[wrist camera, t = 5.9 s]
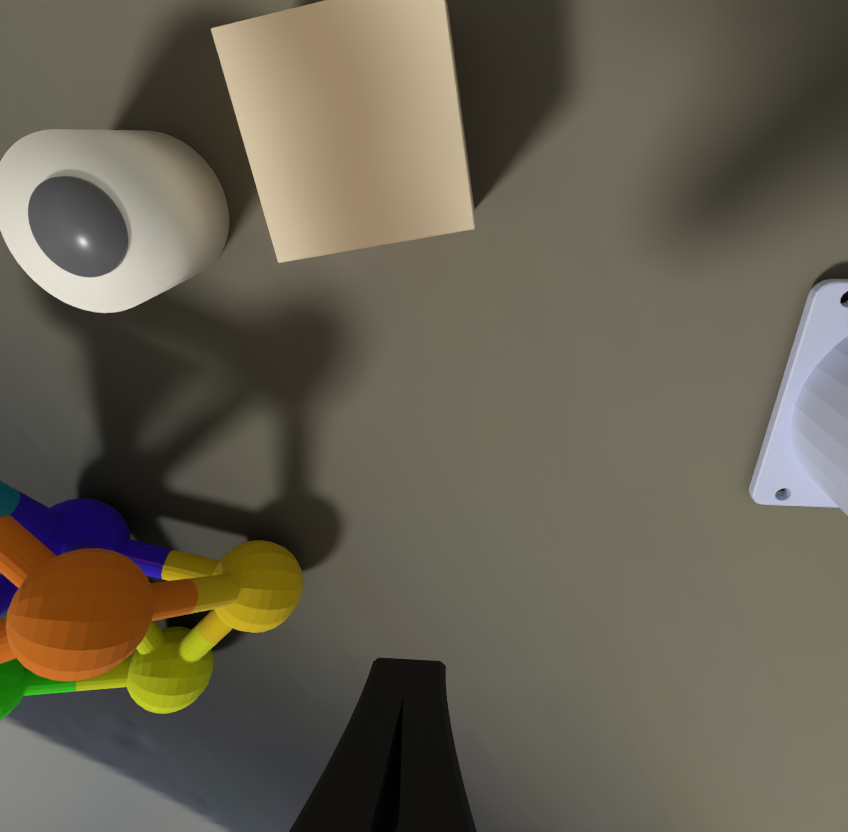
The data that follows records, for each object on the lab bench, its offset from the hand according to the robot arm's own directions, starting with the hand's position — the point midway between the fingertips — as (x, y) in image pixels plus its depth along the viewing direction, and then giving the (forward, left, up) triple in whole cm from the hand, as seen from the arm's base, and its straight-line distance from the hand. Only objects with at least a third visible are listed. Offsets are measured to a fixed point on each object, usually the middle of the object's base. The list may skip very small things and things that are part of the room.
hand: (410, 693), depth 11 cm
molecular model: (+13, +6, -11) cm, 18 cm away
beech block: (+2, -10, -11) cm, 15 cm away
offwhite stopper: (+9, -8, -11) cm, 16 cm away
